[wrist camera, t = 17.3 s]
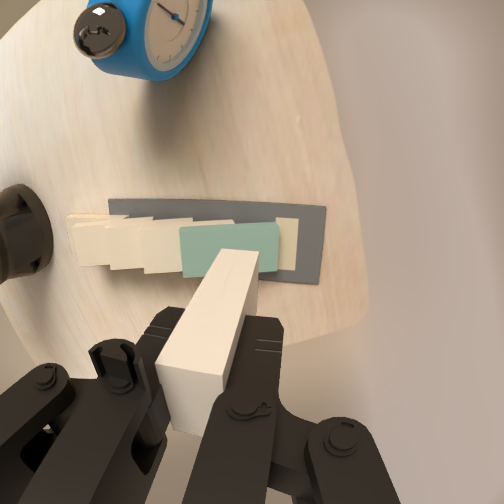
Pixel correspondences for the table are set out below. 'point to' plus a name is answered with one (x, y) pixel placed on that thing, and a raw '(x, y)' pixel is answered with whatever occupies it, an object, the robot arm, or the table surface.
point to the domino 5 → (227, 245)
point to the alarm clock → (141, 35)
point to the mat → (285, 215)
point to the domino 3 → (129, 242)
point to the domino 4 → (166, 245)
